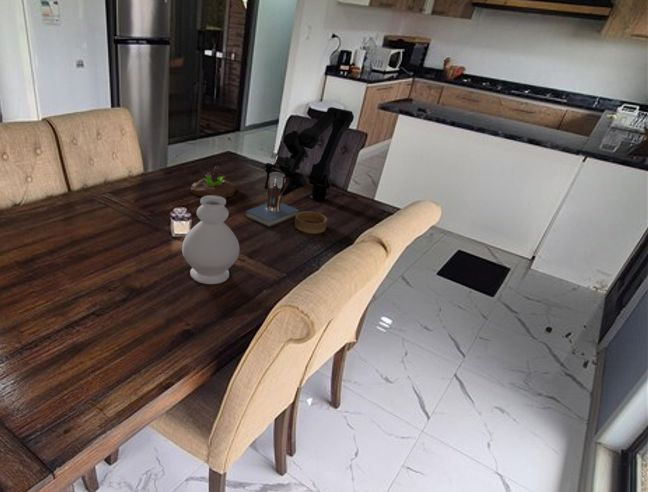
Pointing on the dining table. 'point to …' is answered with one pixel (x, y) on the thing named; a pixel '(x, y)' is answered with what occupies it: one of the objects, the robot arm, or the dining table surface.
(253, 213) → the book
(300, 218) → the wooden bowl
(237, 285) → the dining table surface
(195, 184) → the plant
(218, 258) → the decorative vase
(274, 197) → the beer glass
